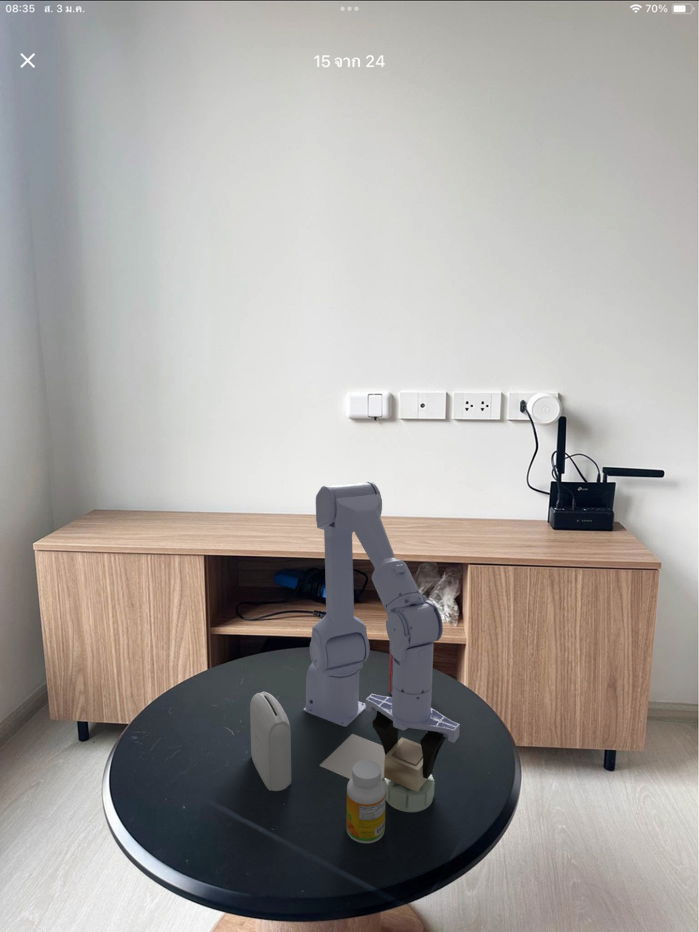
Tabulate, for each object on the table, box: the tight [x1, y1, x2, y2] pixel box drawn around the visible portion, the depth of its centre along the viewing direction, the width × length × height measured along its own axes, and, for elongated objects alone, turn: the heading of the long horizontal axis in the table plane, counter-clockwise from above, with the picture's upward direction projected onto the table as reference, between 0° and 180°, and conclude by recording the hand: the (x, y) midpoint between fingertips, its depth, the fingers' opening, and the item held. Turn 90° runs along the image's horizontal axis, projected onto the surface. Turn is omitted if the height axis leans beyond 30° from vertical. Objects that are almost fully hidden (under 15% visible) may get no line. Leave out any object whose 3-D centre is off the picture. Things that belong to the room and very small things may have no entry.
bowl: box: [383, 774, 435, 813], centre depth 94 cm, size 7×7×3 cm
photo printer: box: [249, 691, 292, 792], centre depth 98 cm, size 10×4×12 cm, turn 26°
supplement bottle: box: [345, 760, 387, 844], centre depth 87 cm, size 5×5×10 cm
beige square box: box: [383, 737, 434, 792], centre depth 93 cm, size 6×6×4 cm
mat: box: [319, 733, 385, 780], centre depth 102 cm, size 10×10×1 cm
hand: (409, 766), depth 93 cm, fingers closed on beige square box, 5 cm apart
